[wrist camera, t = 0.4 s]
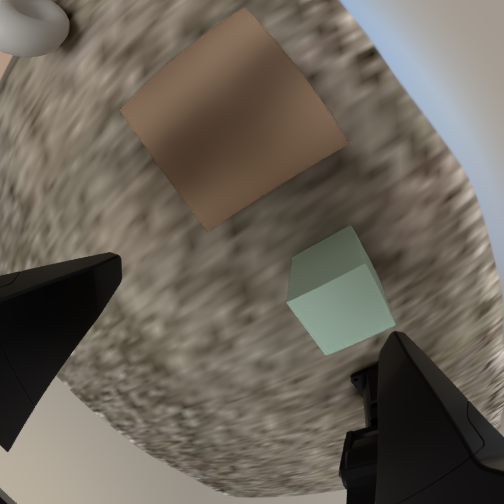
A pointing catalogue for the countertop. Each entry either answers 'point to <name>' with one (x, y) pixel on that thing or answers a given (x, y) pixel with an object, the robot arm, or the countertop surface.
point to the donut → (31, 27)
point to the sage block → (338, 292)
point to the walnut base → (231, 119)
